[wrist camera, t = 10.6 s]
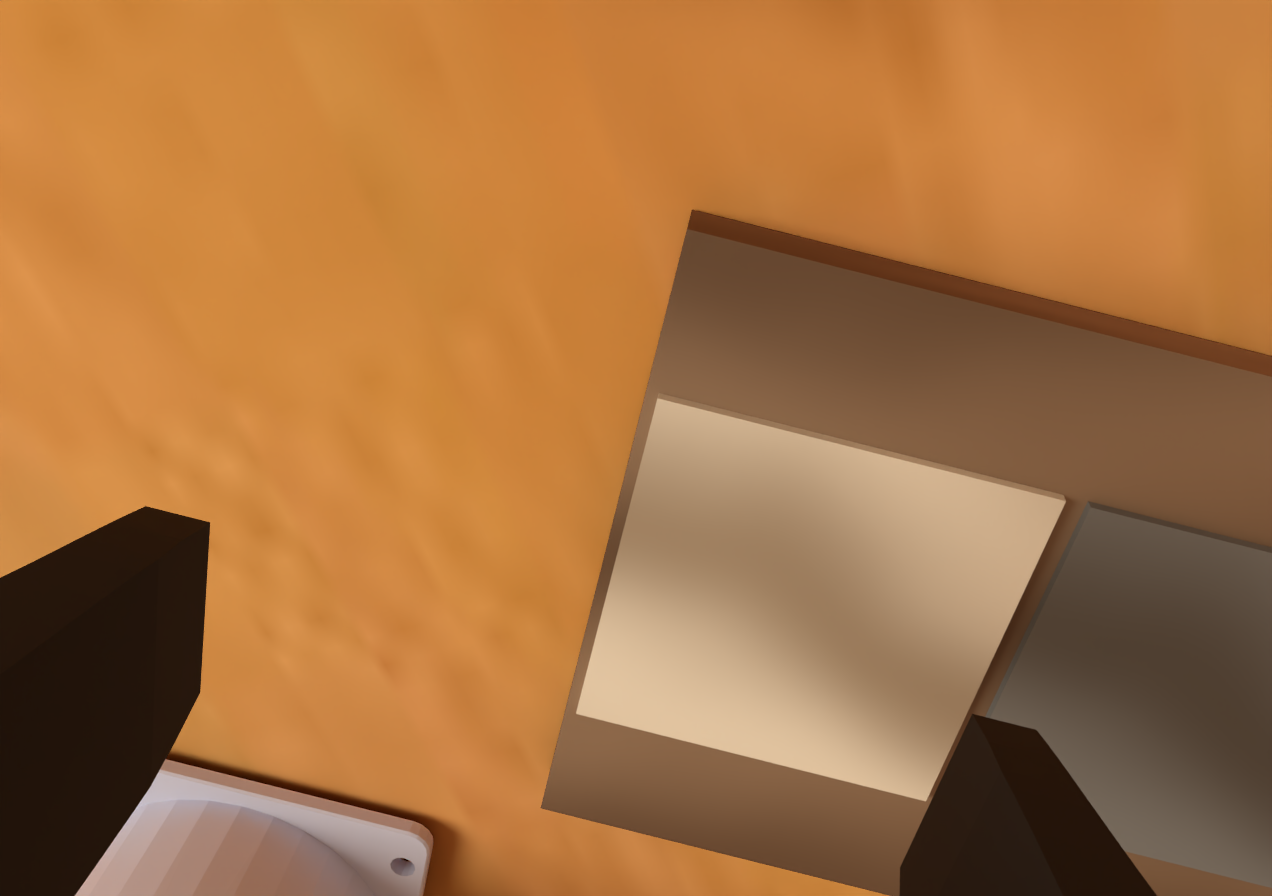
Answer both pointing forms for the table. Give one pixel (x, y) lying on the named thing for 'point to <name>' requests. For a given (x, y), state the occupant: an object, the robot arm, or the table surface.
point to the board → (927, 569)
